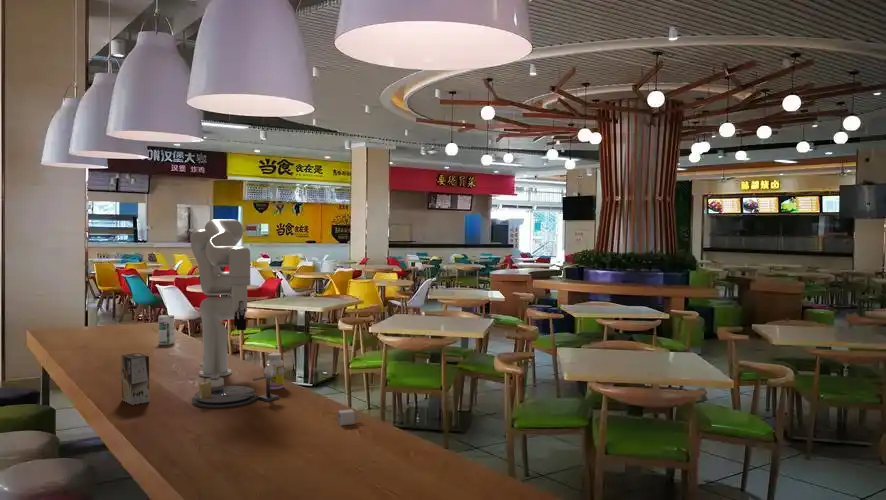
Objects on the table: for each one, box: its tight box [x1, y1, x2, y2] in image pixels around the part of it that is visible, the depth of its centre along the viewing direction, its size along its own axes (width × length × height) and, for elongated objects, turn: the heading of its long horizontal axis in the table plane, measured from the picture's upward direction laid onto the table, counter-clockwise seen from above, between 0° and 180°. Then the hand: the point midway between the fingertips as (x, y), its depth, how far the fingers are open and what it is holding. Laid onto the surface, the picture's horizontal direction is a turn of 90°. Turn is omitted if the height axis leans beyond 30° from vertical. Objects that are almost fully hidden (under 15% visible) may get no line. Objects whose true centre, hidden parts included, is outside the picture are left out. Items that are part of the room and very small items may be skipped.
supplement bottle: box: [265, 352, 285, 391], centre depth 258 cm, size 7×7×13 cm
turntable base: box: [191, 392, 259, 409], centre depth 241 cm, size 22×22×1 cm
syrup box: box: [157, 314, 175, 346], centre depth 347 cm, size 6×6×14 cm
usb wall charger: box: [337, 409, 363, 427], centre depth 214 cm, size 4×7×4 cm, turn 112°
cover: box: [205, 374, 225, 392], centre depth 244 cm, size 6×6×6 cm
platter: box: [194, 381, 256, 404], centre depth 240 cm, size 20×20×6 cm
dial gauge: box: [252, 364, 280, 403], centre depth 240 cm, size 5×9×12 cm, turn 143°
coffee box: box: [120, 352, 151, 406], centre depth 238 cm, size 9×6×16 cm
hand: (240, 328), depth 250 cm, fingers open, 9 cm apart
